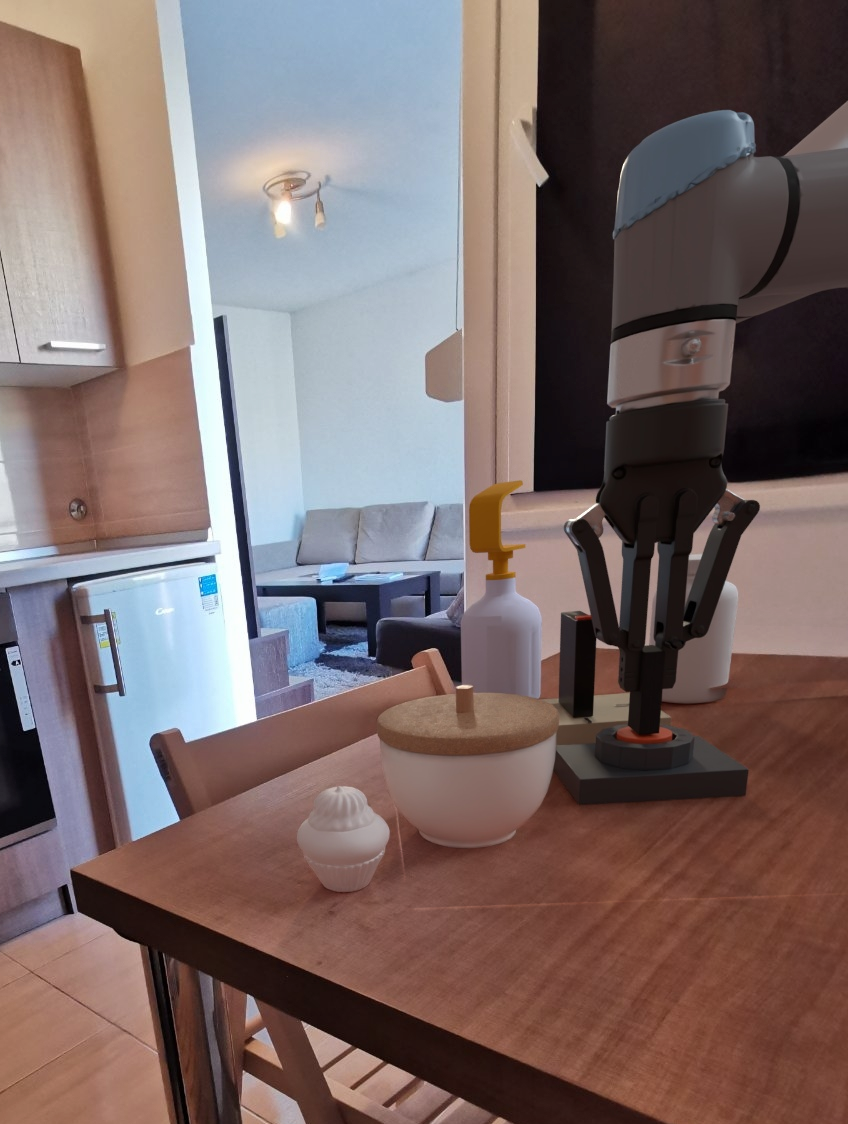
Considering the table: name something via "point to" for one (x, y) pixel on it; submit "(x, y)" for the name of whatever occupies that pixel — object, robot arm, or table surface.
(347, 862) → the muffin
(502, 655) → the soap bottle
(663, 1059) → the table surface
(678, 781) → the switch block
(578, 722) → the plate
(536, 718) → the lidded bowl
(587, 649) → the black rectangular block
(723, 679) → the pill bottle
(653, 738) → the button
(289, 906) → the table surface
